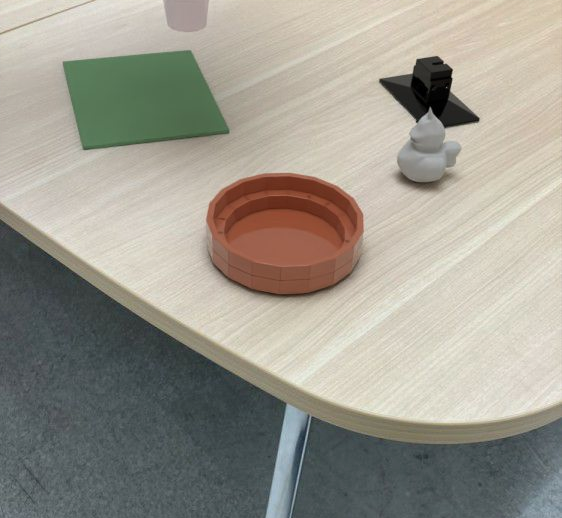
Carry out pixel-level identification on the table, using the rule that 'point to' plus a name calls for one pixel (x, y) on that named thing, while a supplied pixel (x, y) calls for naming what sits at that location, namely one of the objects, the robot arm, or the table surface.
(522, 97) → the table surface
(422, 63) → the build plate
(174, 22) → the smoothie
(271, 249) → the bowl
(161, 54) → the cloth
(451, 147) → the rubber duck
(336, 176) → the table surface
